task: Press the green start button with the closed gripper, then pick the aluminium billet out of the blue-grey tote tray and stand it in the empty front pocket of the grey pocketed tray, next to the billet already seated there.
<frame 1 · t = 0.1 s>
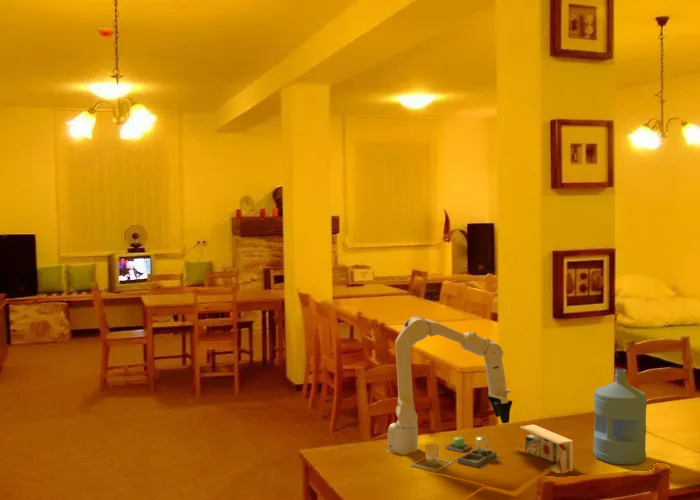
hand: (502, 419, 241), 10 cm above the table, tool pointing down, fingers open, 7 cm apart
cigarette display: (546, 464, 230), on the table
button housing: (458, 451, 241), on the table
seated billet: (482, 456, 232), point 1 cm above the table, touching grey pocketed tray
water jug: (619, 458, 235), on the table
billet: (432, 465, 226), point 1 cm above the table, touching tote tray
grey pocketed tray: (477, 463, 230), on the table
tote tray: (432, 467, 226), on the table
start button: (458, 442, 241), point 3 cm above the table, slide at 0.0 cm
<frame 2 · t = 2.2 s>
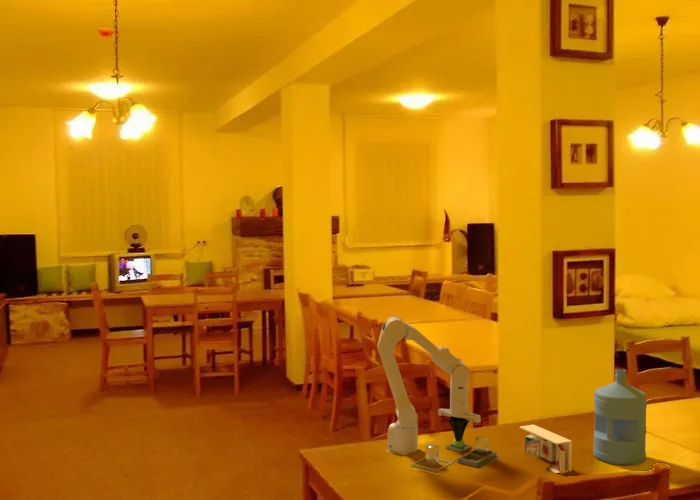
hand: (458, 440, 240), 4 cm above the table, tool pointing down, fingers closed, pressing on start button
start button: (458, 444, 241), point 2 cm above the table, slide at 0.6 cm, touching gripper
everything else where it was.
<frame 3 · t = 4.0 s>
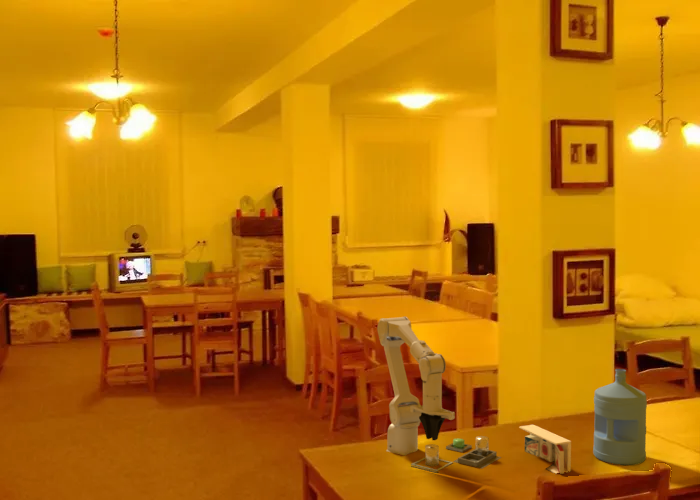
hand: (432, 438, 225), 9 cm above the table, tool pointing down, fingers closed
start button: (458, 444, 241), point 2 cm above the table, slide at 0.6 cm
everything else where it was.
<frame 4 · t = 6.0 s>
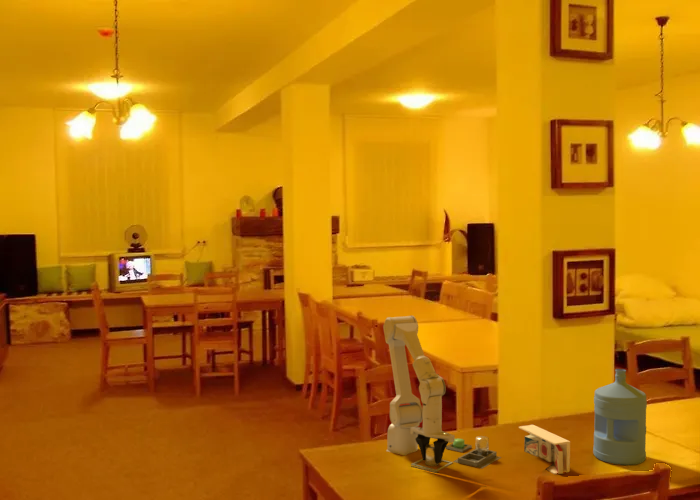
hand: (432, 461, 226), 2 cm above the table, tool pointing down, fingers closed on billet, 4 cm apart
billet: (432, 465, 226), point 1 cm above the table, touching gripper, tote tray
everything else where it was.
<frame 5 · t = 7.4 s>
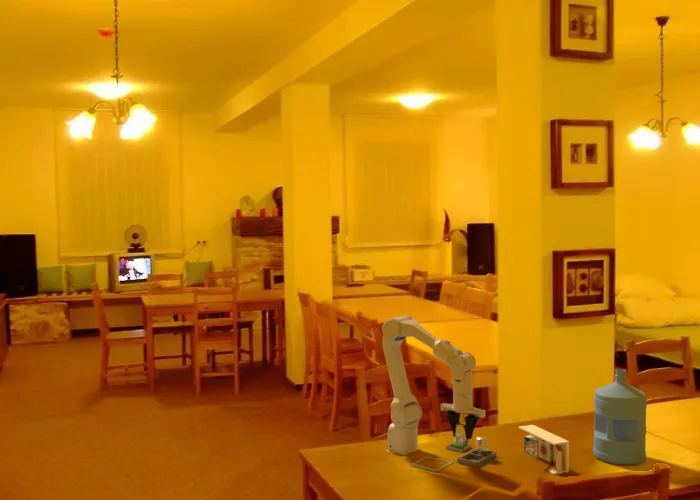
hand: (462, 437, 226), 9 cm above the table, tool pointing down, fingers closed on billet, 4 cm apart
billet: (462, 443, 226), point 7 cm above the table, touching gripper
when the fingers open (4 cm above the table, at t = 9.1 s): billet stays where it is, resting on grey pocketed tray.
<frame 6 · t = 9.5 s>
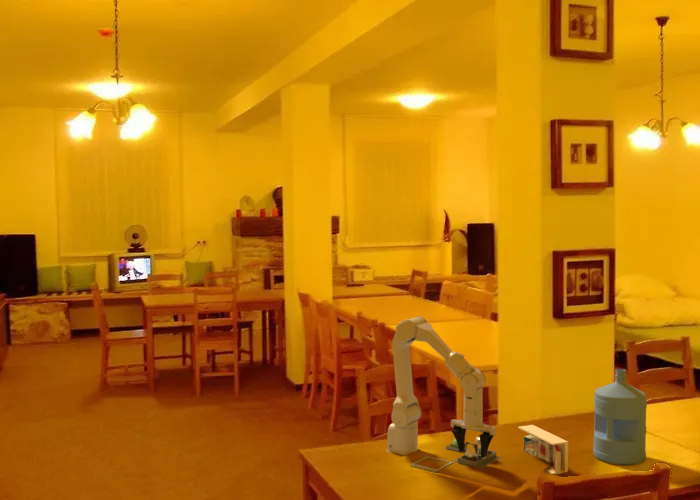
hand: (472, 453, 227), 4 cm above the table, tool pointing down, fingers open, 7 cm apart
billet: (471, 462, 227), point 1 cm above the table, touching grey pocketed tray
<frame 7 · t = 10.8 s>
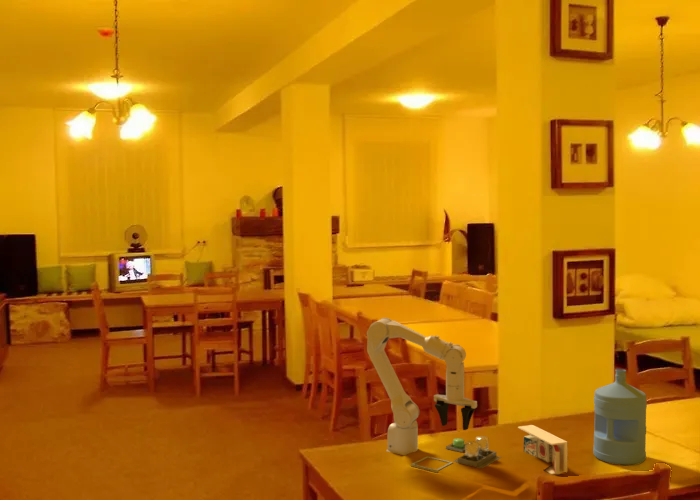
hand: (454, 427, 234), 10 cm above the table, tool pointing down, fingers open, 7 cm apart
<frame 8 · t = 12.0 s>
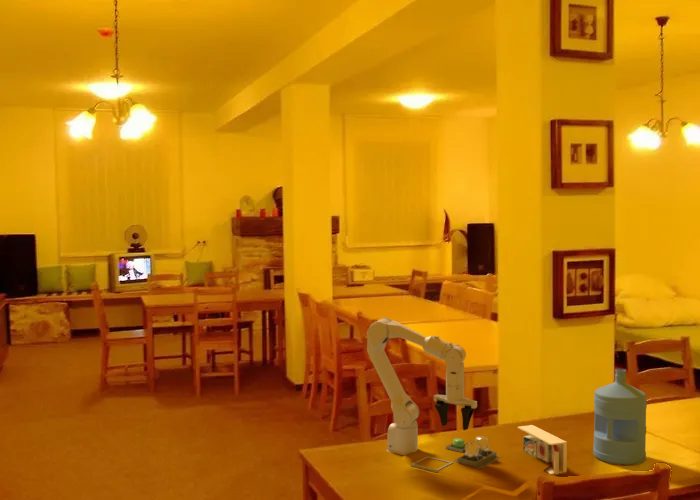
hand: (454, 427, 234), 10 cm above the table, tool pointing down, fingers open, 7 cm apart
at the end: start button slide at 0.6 cm; billet 0.3 cm from the target spot on the grey pocketed tray, point 1.2 cm above the grey pocketed tray's base; billet tilted 1° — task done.
